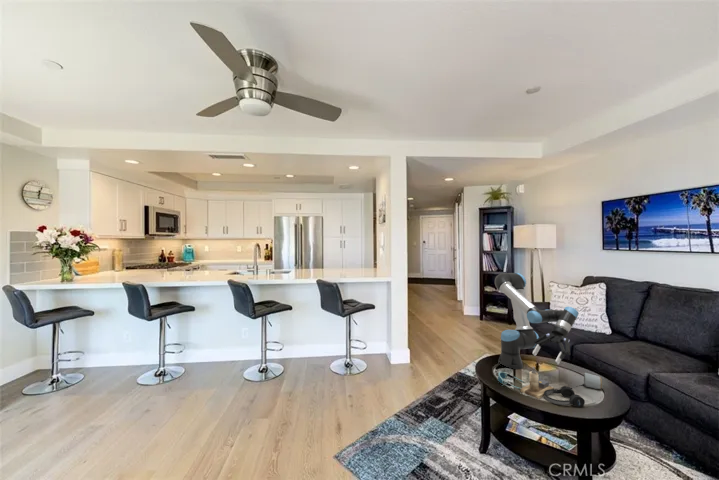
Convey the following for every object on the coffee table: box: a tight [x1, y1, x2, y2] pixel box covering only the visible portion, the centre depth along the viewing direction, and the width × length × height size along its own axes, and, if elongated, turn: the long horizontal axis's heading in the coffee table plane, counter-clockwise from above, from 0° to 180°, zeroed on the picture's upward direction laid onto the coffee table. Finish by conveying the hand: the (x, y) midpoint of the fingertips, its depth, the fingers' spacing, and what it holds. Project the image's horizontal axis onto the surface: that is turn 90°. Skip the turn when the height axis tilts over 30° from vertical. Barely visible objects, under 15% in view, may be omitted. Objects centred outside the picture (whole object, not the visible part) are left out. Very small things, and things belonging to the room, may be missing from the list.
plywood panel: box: [519, 383, 555, 400], centre depth 170 cm, size 10×18×2 cm, turn 125°
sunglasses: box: [497, 371, 526, 390], centre depth 180 cm, size 14×15×5 cm
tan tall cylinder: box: [528, 366, 540, 392], centre depth 169 cm, size 4×4×12 cm
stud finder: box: [538, 378, 550, 389], centre depth 174 cm, size 5×6×3 cm
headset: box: [543, 383, 586, 408], centre depth 160 cm, size 14×10×20 cm
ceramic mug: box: [583, 372, 603, 390], centre depth 176 cm, size 11×8×8 cm
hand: (544, 358), depth 172 cm, fingers open, 13 cm apart
